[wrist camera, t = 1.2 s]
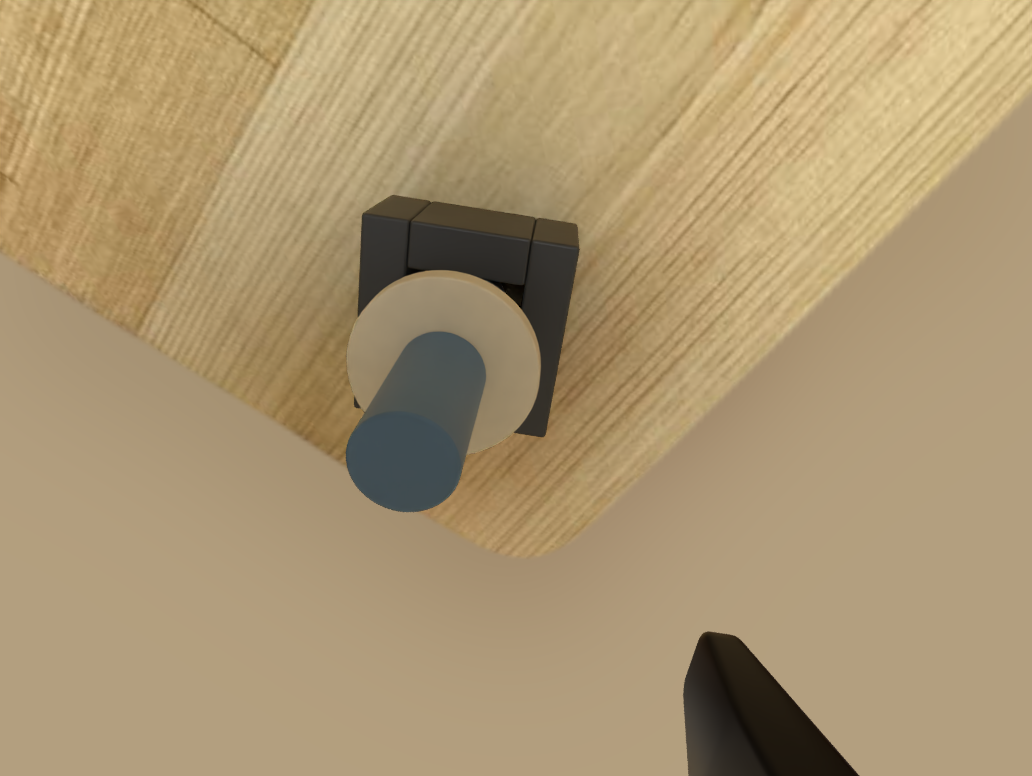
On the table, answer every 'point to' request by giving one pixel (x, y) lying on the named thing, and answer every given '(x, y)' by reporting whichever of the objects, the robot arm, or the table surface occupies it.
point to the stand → (479, 266)
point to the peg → (435, 384)
